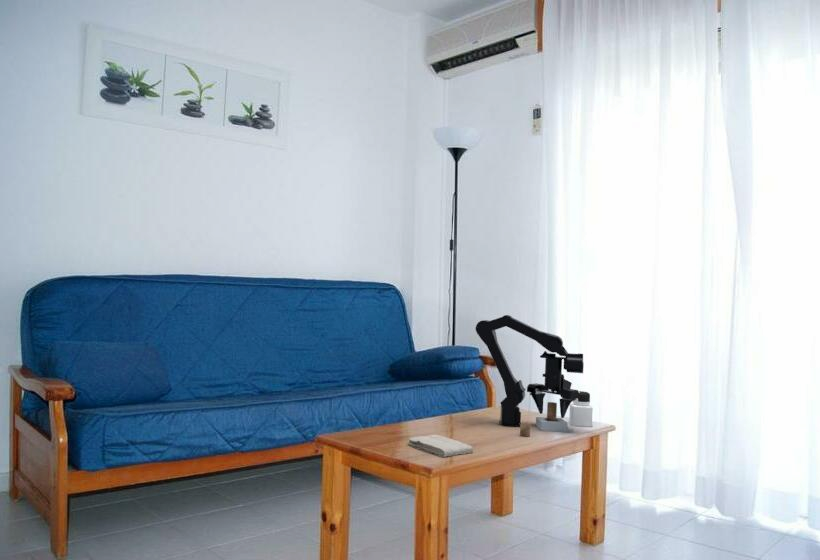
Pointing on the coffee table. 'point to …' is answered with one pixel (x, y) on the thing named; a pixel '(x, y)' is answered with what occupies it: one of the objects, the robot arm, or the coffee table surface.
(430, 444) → the washcloth
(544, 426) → the collar block
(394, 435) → the coffee table surface
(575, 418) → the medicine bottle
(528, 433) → the short stub
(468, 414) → the coffee table surface
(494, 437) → the coffee table surface
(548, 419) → the long dowel
